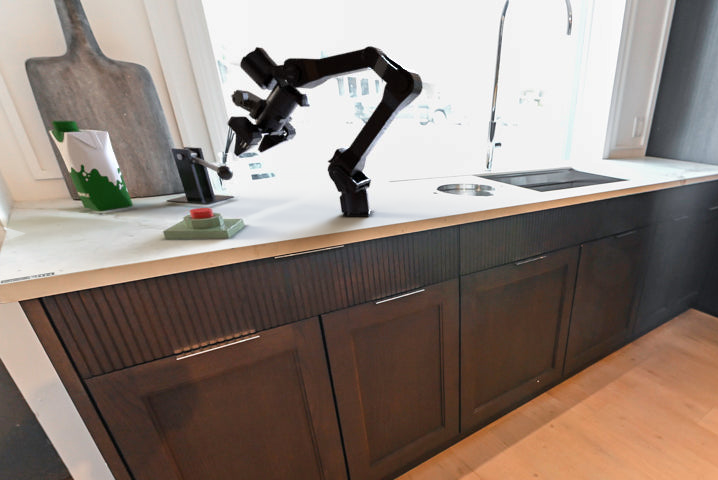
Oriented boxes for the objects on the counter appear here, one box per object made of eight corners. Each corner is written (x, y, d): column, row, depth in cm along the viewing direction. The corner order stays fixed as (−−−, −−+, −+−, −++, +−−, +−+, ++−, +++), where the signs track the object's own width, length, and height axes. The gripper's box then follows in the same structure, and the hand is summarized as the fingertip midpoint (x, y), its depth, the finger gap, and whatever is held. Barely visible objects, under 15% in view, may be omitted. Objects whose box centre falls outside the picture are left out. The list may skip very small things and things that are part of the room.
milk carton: (79, 211, 104) (39, 120, 95) (121, 204, 112) (88, 119, 102) (99, 216, 101) (60, 122, 92) (141, 208, 109) (109, 121, 99)
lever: (235, 181, 115) (236, 168, 113) (226, 183, 111) (227, 170, 110) (188, 159, 114) (189, 145, 112) (177, 160, 110) (178, 147, 109)
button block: (244, 226, 98) (240, 210, 97) (229, 238, 90) (224, 221, 88) (187, 226, 96) (182, 211, 94) (165, 239, 88) (159, 222, 86)
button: (217, 215, 94) (214, 207, 93) (209, 220, 90) (207, 212, 89) (196, 216, 93) (194, 207, 92) (188, 220, 89) (186, 212, 89)
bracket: (234, 200, 121) (221, 147, 114) (208, 207, 112) (192, 151, 105) (196, 197, 122) (180, 145, 115) (167, 204, 113) (149, 148, 107)
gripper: (275, 79, 108) (246, 125, 114) (223, 75, 92) (192, 129, 98) (310, 115, 111) (279, 158, 117) (265, 117, 95) (233, 167, 101)
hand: (248, 152), depth 109 cm, fingers open, 9 cm apart
